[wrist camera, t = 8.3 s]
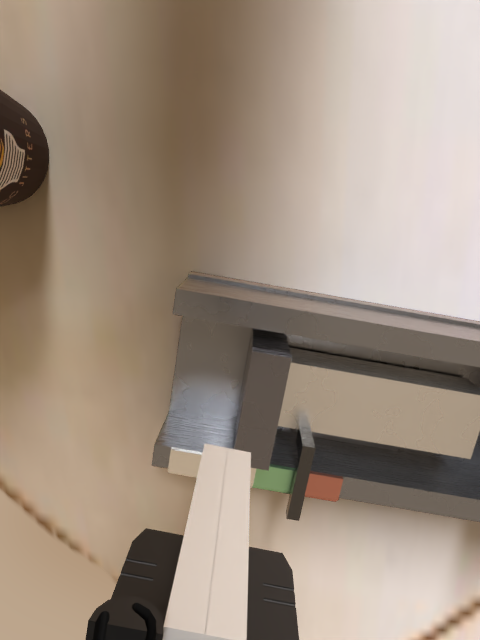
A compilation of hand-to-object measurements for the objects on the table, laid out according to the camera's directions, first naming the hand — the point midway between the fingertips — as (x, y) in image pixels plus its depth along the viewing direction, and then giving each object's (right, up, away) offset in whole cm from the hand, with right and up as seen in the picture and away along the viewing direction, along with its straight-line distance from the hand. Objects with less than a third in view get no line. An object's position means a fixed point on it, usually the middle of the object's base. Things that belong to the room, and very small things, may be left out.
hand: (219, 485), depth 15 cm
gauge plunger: (+8, -1, +15) cm, 17 cm away
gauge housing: (+9, +1, +16) cm, 19 cm away
